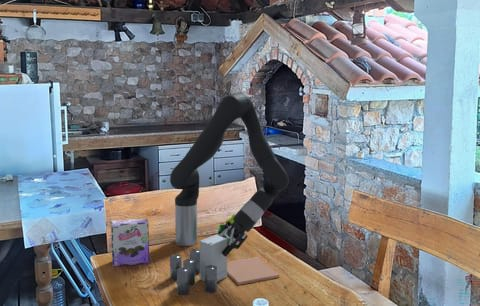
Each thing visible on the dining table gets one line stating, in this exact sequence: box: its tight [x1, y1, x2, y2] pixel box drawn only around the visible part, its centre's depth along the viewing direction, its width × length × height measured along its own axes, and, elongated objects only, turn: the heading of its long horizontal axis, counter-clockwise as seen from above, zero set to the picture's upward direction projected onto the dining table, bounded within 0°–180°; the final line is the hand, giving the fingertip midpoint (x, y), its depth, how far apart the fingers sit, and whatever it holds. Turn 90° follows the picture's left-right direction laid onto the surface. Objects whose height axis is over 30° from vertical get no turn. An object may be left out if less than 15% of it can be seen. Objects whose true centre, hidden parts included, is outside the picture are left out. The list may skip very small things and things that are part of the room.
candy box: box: [110, 218, 150, 268], centre depth 182 cm, size 14×6×16 cm, turn 105°
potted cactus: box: [217, 214, 236, 244], centre depth 207 cm, size 11×9×11 cm
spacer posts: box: [169, 248, 218, 296], centre depth 165 cm, size 20×13×8 cm, turn 24°
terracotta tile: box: [227, 256, 280, 286], centre depth 176 cm, size 18×16×1 cm
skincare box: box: [199, 234, 228, 282], centre depth 168 cm, size 8×6×15 cm
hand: (218, 250), depth 168 cm, fingers open, 8 cm apart
